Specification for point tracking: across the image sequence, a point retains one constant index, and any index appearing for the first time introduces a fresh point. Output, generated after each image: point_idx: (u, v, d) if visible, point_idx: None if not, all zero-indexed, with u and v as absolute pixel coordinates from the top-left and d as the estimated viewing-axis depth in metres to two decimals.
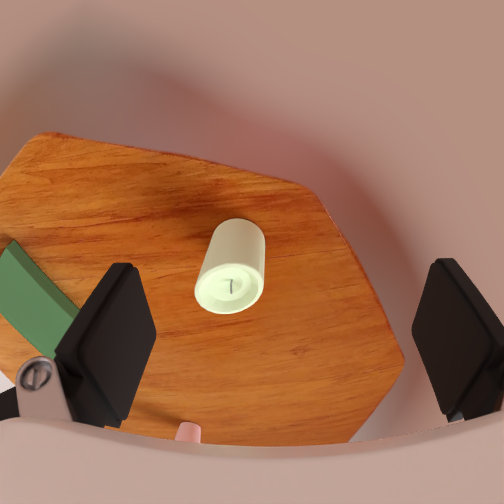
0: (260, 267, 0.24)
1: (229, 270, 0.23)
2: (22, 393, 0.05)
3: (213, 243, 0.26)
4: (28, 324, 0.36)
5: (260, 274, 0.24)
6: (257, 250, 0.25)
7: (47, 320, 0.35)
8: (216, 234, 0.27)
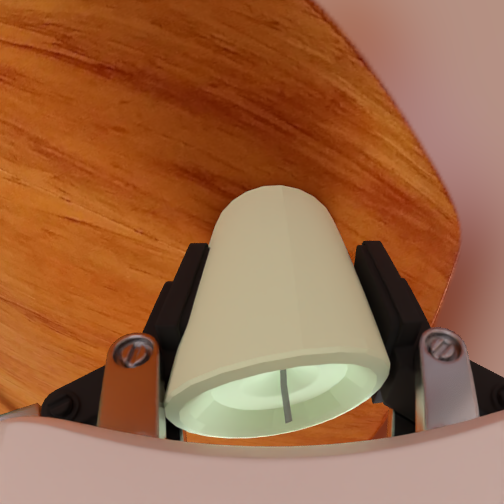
0: None
1: None
2: (121, 372, 0.06)
3: (270, 228, 0.08)
4: None
5: None
6: None
7: None
8: (269, 205, 0.10)
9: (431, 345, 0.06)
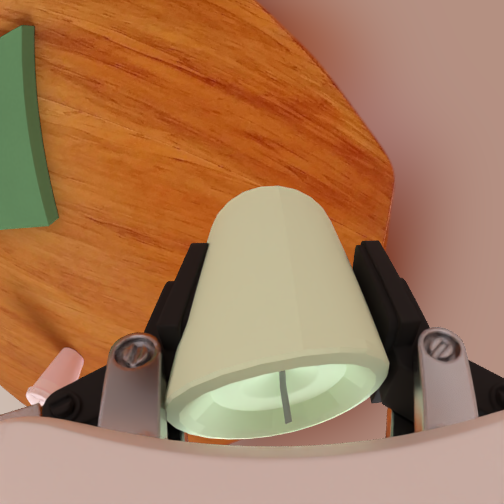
0: None
1: None
2: (123, 372, 0.06)
3: (268, 229, 0.08)
4: None
5: None
6: None
7: None
8: (266, 206, 0.10)
9: (430, 345, 0.06)
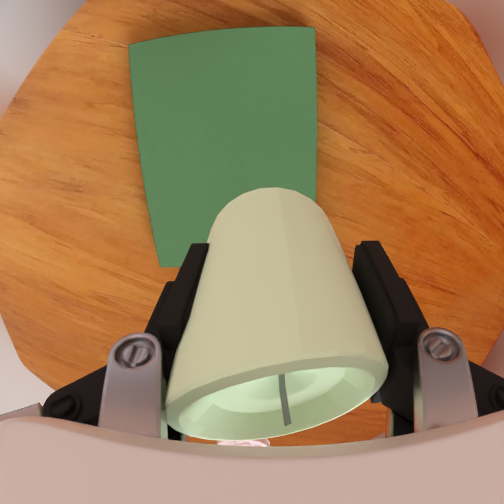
0: None
1: None
2: (123, 371, 0.06)
3: (267, 231, 0.08)
4: (190, 145, 0.23)
5: None
6: None
7: (254, 161, 0.23)
8: (265, 208, 0.10)
9: (429, 345, 0.06)
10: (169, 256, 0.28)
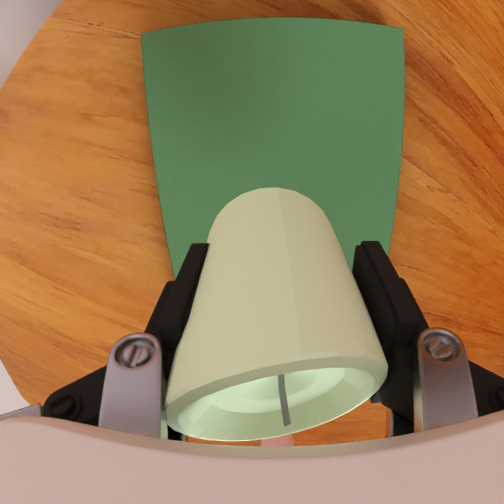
0: None
1: None
2: (123, 372, 0.06)
3: (267, 231, 0.08)
4: (231, 180, 0.17)
5: None
6: None
7: (318, 204, 0.18)
8: (265, 208, 0.10)
9: (429, 345, 0.06)
10: None
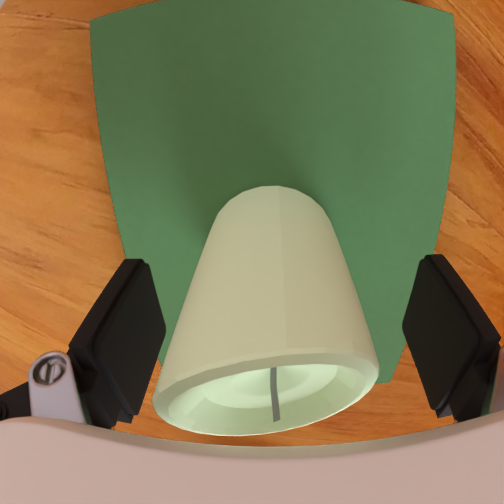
0: None
1: None
2: (36, 388, 0.05)
3: (263, 228, 0.08)
4: None
5: None
6: None
7: None
8: (264, 206, 0.10)
9: None
10: None
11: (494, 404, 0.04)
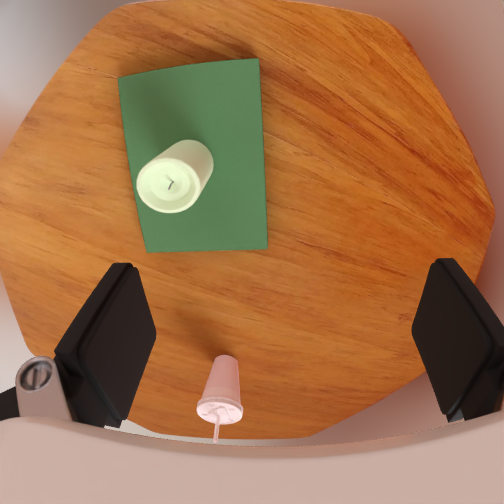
0: (202, 184, 0.25)
1: (178, 170, 0.24)
2: (22, 393, 0.05)
3: (174, 147, 0.26)
4: None
5: (200, 188, 0.25)
6: (205, 172, 0.26)
7: (215, 166, 0.30)
8: (178, 143, 0.27)
9: None
10: (153, 243, 0.35)
11: None
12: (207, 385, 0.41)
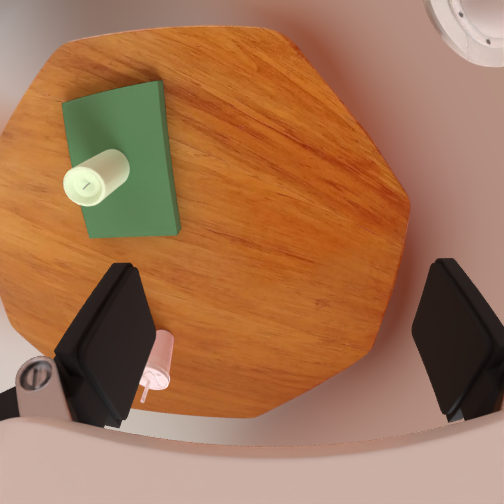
0: (109, 184, 0.31)
1: (90, 174, 0.30)
2: (22, 393, 0.05)
3: (94, 156, 0.32)
4: None
5: (106, 187, 0.31)
6: (115, 174, 0.33)
7: (131, 169, 0.37)
8: (100, 153, 0.33)
9: None
10: (93, 231, 0.41)
11: None
12: None
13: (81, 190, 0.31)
